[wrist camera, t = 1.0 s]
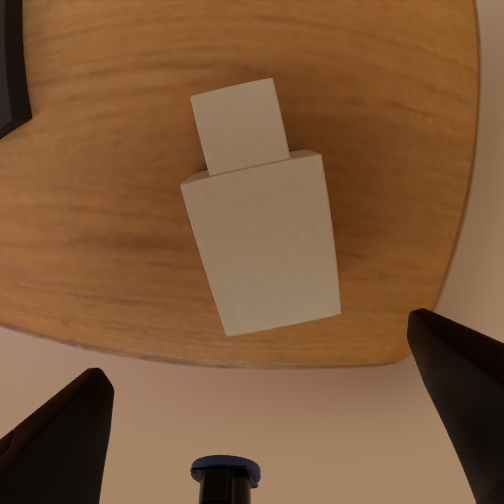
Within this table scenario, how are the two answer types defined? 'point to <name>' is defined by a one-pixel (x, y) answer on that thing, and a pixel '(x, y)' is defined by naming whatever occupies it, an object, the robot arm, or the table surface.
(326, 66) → the table surface
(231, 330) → the beige stepped block
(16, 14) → the socket pad
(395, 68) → the table surface
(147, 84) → the table surface
